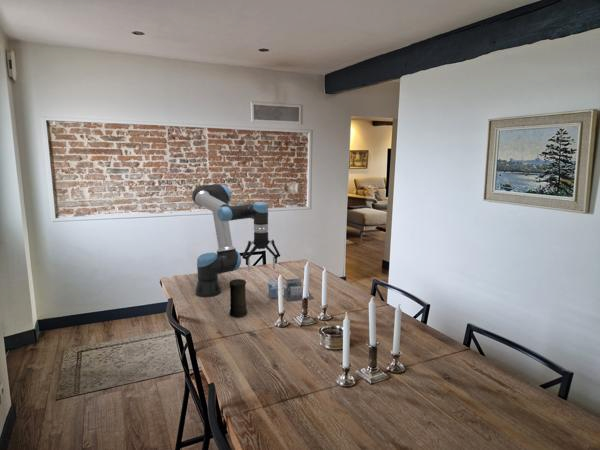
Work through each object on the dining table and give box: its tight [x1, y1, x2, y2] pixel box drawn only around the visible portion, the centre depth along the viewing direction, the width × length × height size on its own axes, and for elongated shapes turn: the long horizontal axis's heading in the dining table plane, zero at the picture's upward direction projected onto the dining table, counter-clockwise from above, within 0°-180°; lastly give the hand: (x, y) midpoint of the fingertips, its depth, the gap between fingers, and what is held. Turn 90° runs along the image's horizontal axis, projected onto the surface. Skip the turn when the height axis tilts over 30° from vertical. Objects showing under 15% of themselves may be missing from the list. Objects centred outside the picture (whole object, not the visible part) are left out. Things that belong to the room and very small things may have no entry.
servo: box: [267, 281, 279, 299], centre depth 229 cm, size 9×4×9 cm, turn 16°
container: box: [229, 278, 248, 319], centre depth 203 cm, size 9×9×18 cm
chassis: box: [283, 277, 315, 303], centre depth 233 cm, size 20×16×8 cm
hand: (261, 270), depth 212 cm, fingers open, 13 cm apart
